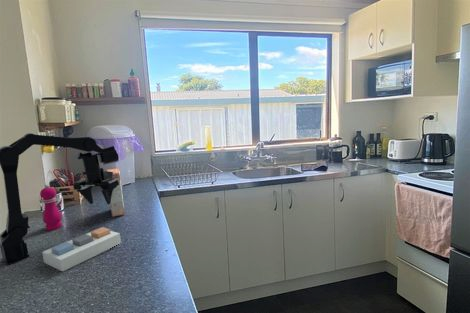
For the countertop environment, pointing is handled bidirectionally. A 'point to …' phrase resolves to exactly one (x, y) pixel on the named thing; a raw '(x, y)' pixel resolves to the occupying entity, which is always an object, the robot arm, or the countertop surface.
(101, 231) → the tan square block
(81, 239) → the key charcoal
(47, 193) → the pepper mill
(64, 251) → the key slate
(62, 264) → the keypad
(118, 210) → the cracker box
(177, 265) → the countertop surface
